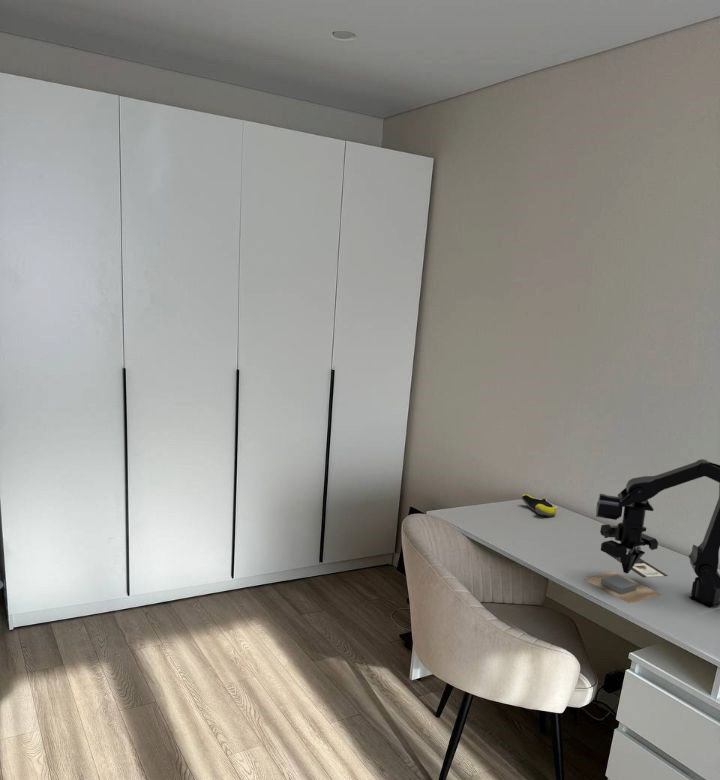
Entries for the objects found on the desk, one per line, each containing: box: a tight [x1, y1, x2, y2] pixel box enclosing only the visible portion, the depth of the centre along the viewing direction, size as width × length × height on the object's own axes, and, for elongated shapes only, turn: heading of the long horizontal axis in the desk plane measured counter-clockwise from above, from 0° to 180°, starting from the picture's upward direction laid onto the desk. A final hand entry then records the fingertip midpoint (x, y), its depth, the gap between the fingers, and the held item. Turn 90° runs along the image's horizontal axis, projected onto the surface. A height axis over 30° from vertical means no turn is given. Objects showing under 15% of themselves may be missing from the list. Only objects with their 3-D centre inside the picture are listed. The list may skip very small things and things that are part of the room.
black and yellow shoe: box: [521, 493, 558, 518], centre depth 254 cm, size 15×6×10 cm
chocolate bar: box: [607, 554, 668, 578], centre depth 209 cm, size 9×1×18 cm
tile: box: [601, 575, 637, 594], centre depth 190 cm, size 7×2×7 cm
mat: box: [583, 571, 661, 604], centre depth 191 cm, size 16×14×1 cm
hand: (625, 572), depth 191 cm, fingers closed
